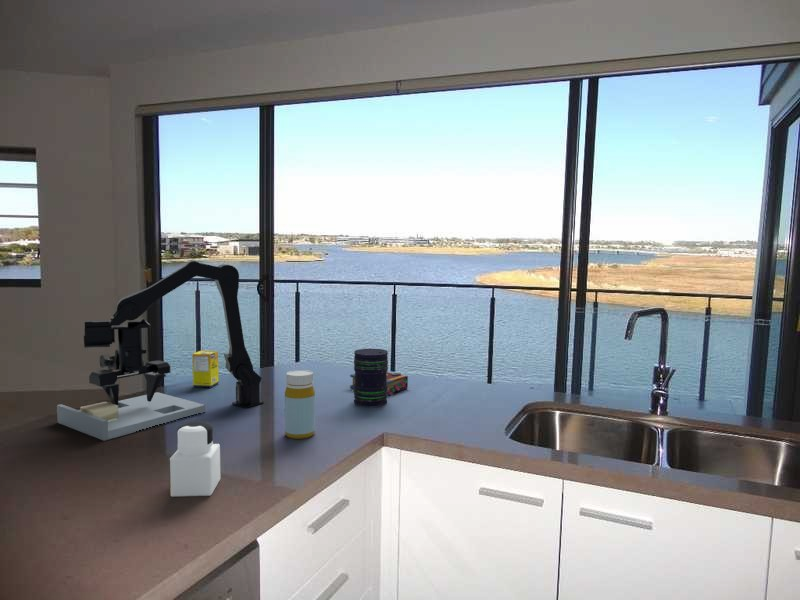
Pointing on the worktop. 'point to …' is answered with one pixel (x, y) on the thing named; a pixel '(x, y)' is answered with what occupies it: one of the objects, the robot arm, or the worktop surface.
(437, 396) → the worktop surface
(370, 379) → the storage jar
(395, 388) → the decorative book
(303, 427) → the bottle
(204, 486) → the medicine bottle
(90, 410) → the beech block
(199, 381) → the supplement box
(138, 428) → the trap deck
